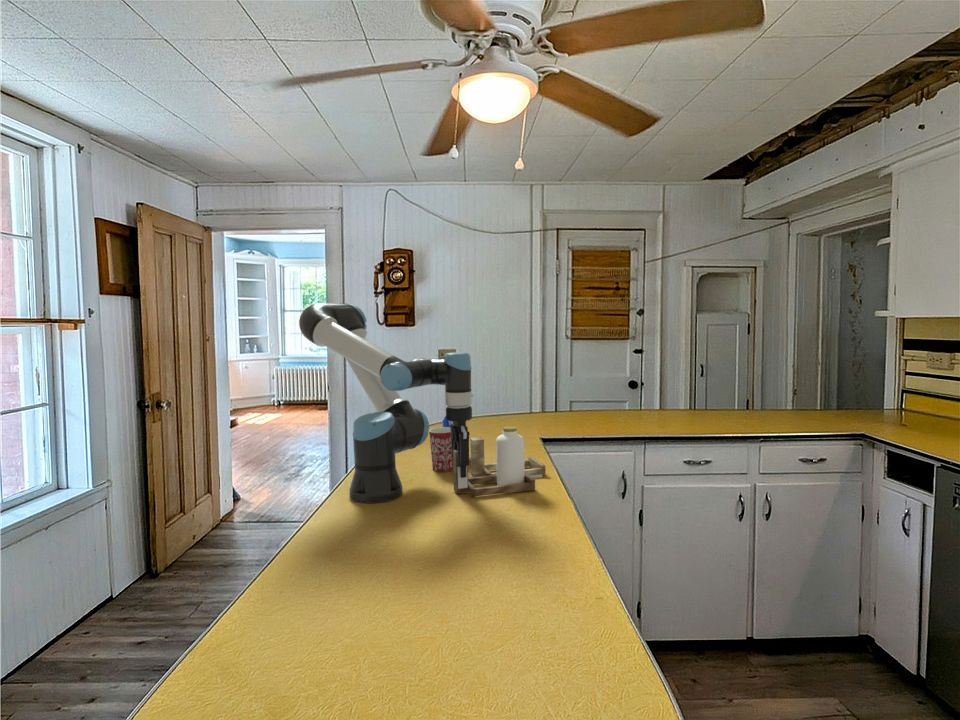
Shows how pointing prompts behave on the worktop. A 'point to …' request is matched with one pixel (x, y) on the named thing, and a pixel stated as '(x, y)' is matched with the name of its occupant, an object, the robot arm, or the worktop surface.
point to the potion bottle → (510, 457)
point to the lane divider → (536, 476)
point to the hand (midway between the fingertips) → (460, 485)
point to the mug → (441, 449)
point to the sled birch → (483, 469)
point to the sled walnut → (491, 490)
